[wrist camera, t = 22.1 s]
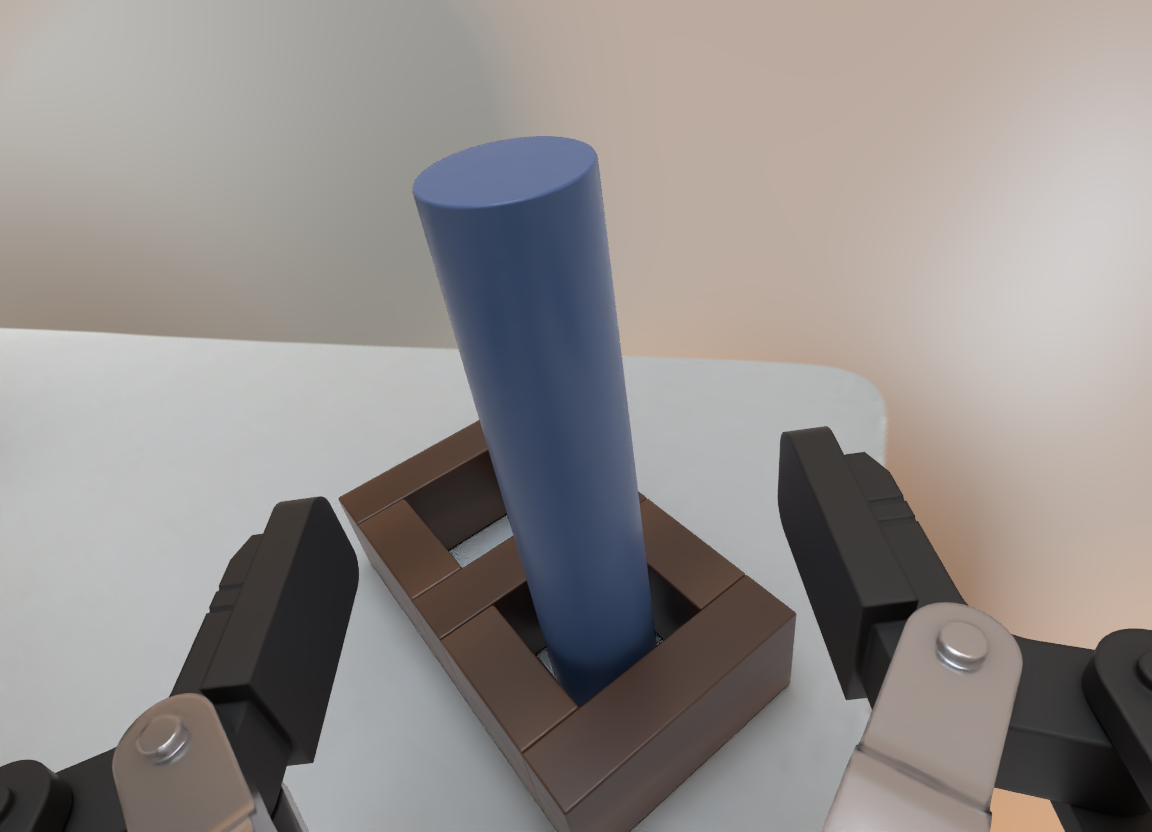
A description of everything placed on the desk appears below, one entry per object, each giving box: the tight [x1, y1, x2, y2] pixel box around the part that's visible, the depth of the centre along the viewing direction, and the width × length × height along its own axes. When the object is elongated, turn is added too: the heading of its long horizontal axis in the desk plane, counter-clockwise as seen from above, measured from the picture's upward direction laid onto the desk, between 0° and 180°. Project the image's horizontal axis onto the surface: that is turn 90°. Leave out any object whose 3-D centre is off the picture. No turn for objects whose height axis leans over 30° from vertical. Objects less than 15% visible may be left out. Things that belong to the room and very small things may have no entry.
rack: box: [339, 420, 796, 832], centre depth 23 cm, size 14×8×4 cm, turn 37°
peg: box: [413, 136, 657, 708], centre depth 17 cm, size 3×3×16 cm
